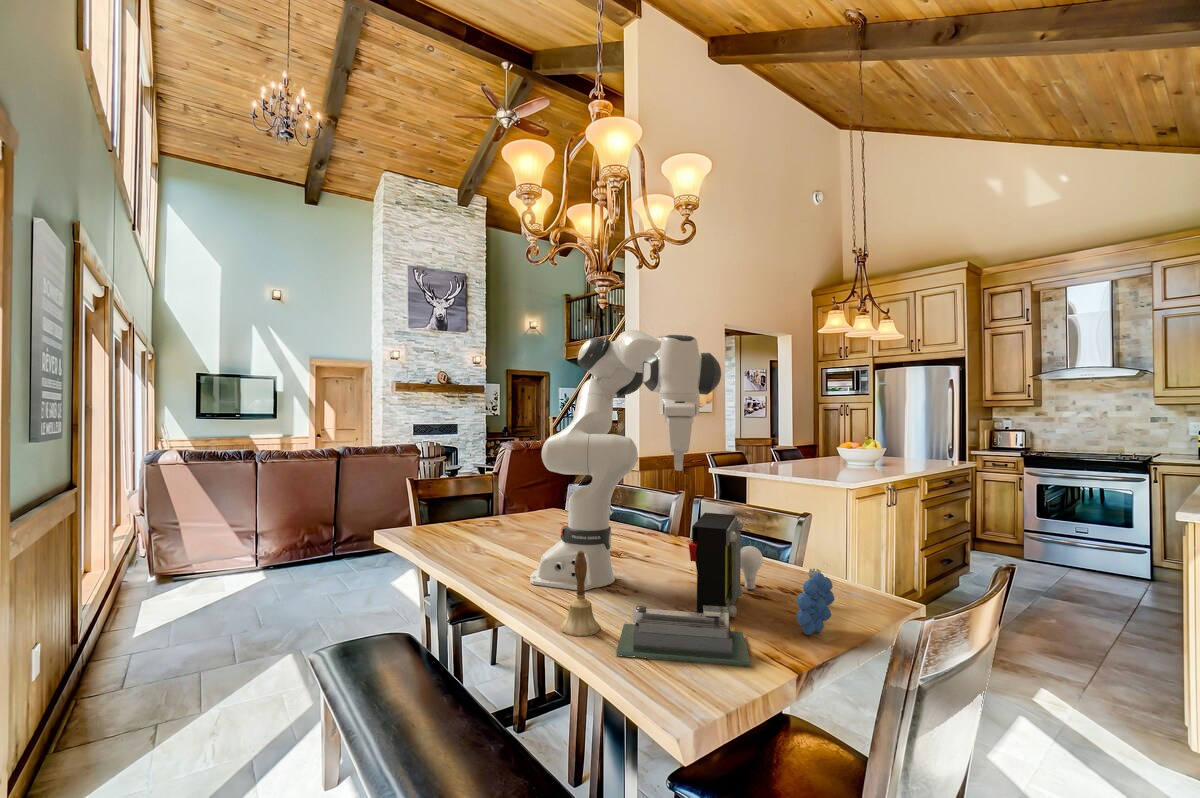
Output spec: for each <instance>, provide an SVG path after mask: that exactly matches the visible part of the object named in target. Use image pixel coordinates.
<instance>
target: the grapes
mask: <svg viewBox="0 0 1200 798" xmlns="http://www.w3.org/2000/svg"><path fill="white" fill-rule="evenodd" d="M833 587H834V586H833V582H832V581H831V579H830V578H829V577H828V576H826V577H825V575H824V574H823V573H816V574H815V575H814V576H813V577H812V578H811V579H807V580H805V582H804V583H803V584H802V588H803V591H804V592H801V593H799V595H798V596H797V597H796V603H797V606H798V608H799V611H798V612H797V613H796V616H795V617H796V621H797V624H798V625H800V626H801V630H802V632H803V634H805V635H808V636H809V635H811V634H813V633H820V632H822V630H823V629H824V628H825V625H824V622H827V621H828V620H829V619H830V618H831V617H832V612H831V609H830V607H829V606H830V605H832V604H833V603H834V601H835V600H836V599H835V595H834V593H833V592H832V589H833Z"/></svg>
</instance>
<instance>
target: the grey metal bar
mask: <svg viewBox="0 0 1200 798" xmlns="http://www.w3.org/2000/svg"><path fill="white" fill-rule="evenodd" d="M640 619H642V620H656V621H671V622H685V623H700V624H714V616H704V613H697V611H696V612H695V611H684V610H683V611H680V610H668V609H656V608H647V607H646V606H645V605H637V606H635V607H633V610H632V624H636V623H639V621H640Z"/></svg>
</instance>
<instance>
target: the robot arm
mask: <svg viewBox="0 0 1200 798" xmlns="http://www.w3.org/2000/svg"><path fill="white" fill-rule="evenodd" d="M576 361H577V364H578V365H579V367H581V368H582V369H583V370H584V371H586V372H588V373H589V374H591V375H592V376H594V378H590V379H589V378H588V379H587V380H586V381H585V382H584V383H583V384H582V386H581V387H580V390H579V392H578V395H577V398H576V402H575V410H574V412H573V413H574V415H573V417H572V420H571V422H570V423H569V424H568V425H567V426H566V427H565V428H564V429H562V430H561V431H559V432H557V433H555V434H553V435H550V436H549V437H548V438H547V439H546V440H545V441H544V443H543V446H542V448H541V459H542V463H543V465H544V467H545V468H546V470H548V471H549V472H553V473H556V474H557V473H558V474H561V475H572V476H573V475H575V476H576V475H577V476H580V475H581V476H582V475H583V476H591V478H592V479H591V482H590V483H589V484H587V485H584V486H583V487H581V488H579V489H577V490H576V491H574V492H573V493H571V495H570V496H569V498H568V504H567V505H568V506H567V507H568V511H567V515H568V519H567V520H568V522H567V523H564V525H562V527H561V529H560V532H559V533H560V534H559V536H560V540H559V541H557V542H556V543H555V544H554V545H553V546H551V547H550V548H548V549H547V550H546V551H545V552H544V553H543V555H541V558H540V561H539V565H538V568H537V569H535V570H534V571H533V572H532V573H531V574H530V576H529V577H530V578H529V582H530V584H532V585H536V586H541V587H542V586H543V587H549V588H557V589H566V590H573V591H577V579H576V576H575V560H576V557H577V553H578V551H583V552H584V555H585V558H586V562H587V573H586V577H585V581H584V588H585V591H587V590H591V589H594V588H601V587H605V586H608V585H612V584H613V583H614V582H615V580H616V578H615V574H614V570H613V566H612V559H611V547H612V527H611V526H610V516H611V515H610V514H611V513H610V512H611V503H612V502H611V501H612V498H613V494H614V491H615V489H616V487H617V485H618V484H619V482H620V481H621V480H622V479H623V478H624V477H625V476H626V475H628V474H629V473H631V472H632V470H634V468H635V467H636V465H637V462H638V459H639V457H638V455H639V453H638V448H637V445H636V443H635V442H634V441H633V439H632V438H631V437H629V436H623V435H619V434H616V433H615V434H614V433H609V432H610V431H611V428H612V426H613V409H614V397H615V395H616V397H619V398H621V397H624V396H625V395H628V396H629V395H631V394H633V393H635V392H636V391H638V390H639V388H641V386H642V385H643V384H644V385H645V387H646V388H647V389H648V390H649V391H650V392H654V393H658V394H659V395H658V396H659V398H658V399H659V400H658V403H659V405H658V414H659V416H664V423H665V424H666V423H667V430H668V439H669V448H670V452H671V453H673V461H674V462H673V463H674V470H675V472H676V471H680V472H682V471H683V469H684V455H685V454H687V453H689V450H690V445H691V444H690V443H691V435H692V427H693V423H694V417H696V416H700V395H705V396H706V395H709V394H711V393H712V392H713V391H714V390H715V389H716V388H717V387H718V385H719V383H720V381H721V379H722V378H721V377H722V370H721V364H720V363H719V361H718V360H717V358H715V356H714V355H713V354H712V353H711V352H700V350H699V345H698V340H697V338H695V337H694V336H691V335H683V334H667V335H664V336H663V337H662V339H661V340H660V339H657V338H656V337H654V336H652V335H650V334H648V333H646V332H643V331H641V330H637V329H629V330H625V331H622V332H621V333H619V335H618V336H617V337H616V339H615V340H612V341H611V340H610V339H609V337H608V336H604V337H592V338H589V339H587V340H586V341H585V342H584V343H583V344H582V346H581V347H580V348H579V351H578V356H577V360H576ZM608 433H609V434H608Z"/></svg>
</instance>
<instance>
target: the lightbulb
mask: <svg viewBox="0 0 1200 798" xmlns="http://www.w3.org/2000/svg"><path fill="white" fill-rule="evenodd" d="M763 563H764V557H763V554H762V552H761V551H760V549H758V548H757V547H755V546H754V545H747V546H742V547H741V571H742V575H743V577H744V588H745V589H747V590H748V591H752V590H754V589H755V588H756V578H757V576H758V573H759V570H760V569H761V567H762V566H763Z"/></svg>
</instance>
